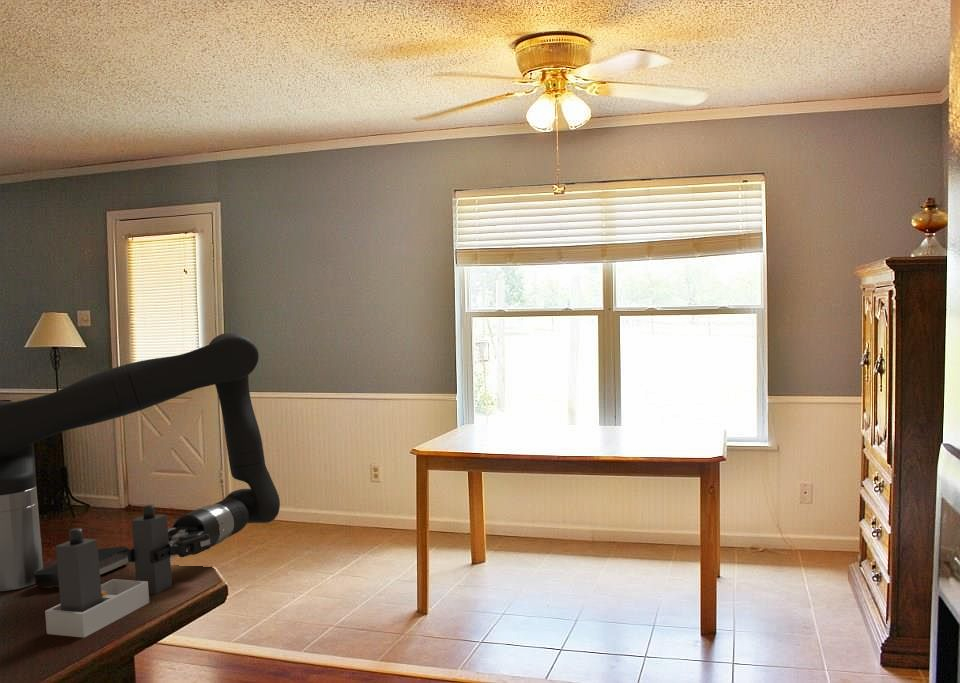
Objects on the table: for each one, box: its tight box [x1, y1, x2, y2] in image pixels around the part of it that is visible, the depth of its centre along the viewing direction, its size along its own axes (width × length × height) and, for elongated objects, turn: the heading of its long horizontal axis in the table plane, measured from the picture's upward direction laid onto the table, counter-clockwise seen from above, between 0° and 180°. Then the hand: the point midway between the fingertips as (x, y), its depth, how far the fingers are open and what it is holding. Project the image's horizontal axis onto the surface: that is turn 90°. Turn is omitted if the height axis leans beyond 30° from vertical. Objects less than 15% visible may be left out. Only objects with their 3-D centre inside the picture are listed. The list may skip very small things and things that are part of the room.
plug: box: [131, 504, 173, 595], centre depth 141 cm, size 4×4×15 cm
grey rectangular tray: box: [44, 578, 150, 639], centre depth 129 cm, size 14×7×5 cm, turn 162°
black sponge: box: [33, 546, 130, 589], centre depth 152 cm, size 16×8×4 cm, turn 159°
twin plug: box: [55, 527, 102, 612], centre depth 125 cm, size 4×4×15 cm
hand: (140, 557), depth 138 cm, fingers closed on plug, 4 cm apart
